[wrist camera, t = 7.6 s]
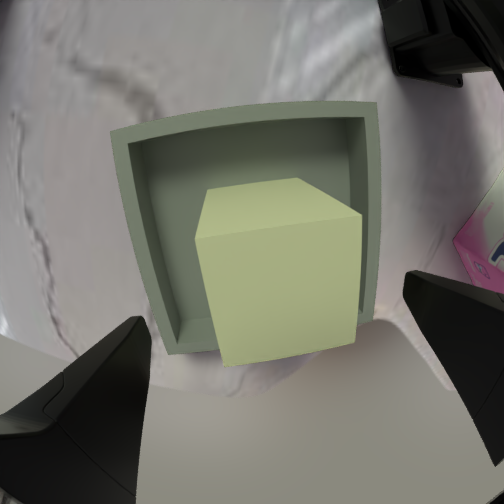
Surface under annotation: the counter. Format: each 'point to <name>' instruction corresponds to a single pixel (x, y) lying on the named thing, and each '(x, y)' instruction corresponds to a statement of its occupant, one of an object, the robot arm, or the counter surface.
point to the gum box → (485, 240)
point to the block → (279, 269)
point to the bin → (237, 173)
